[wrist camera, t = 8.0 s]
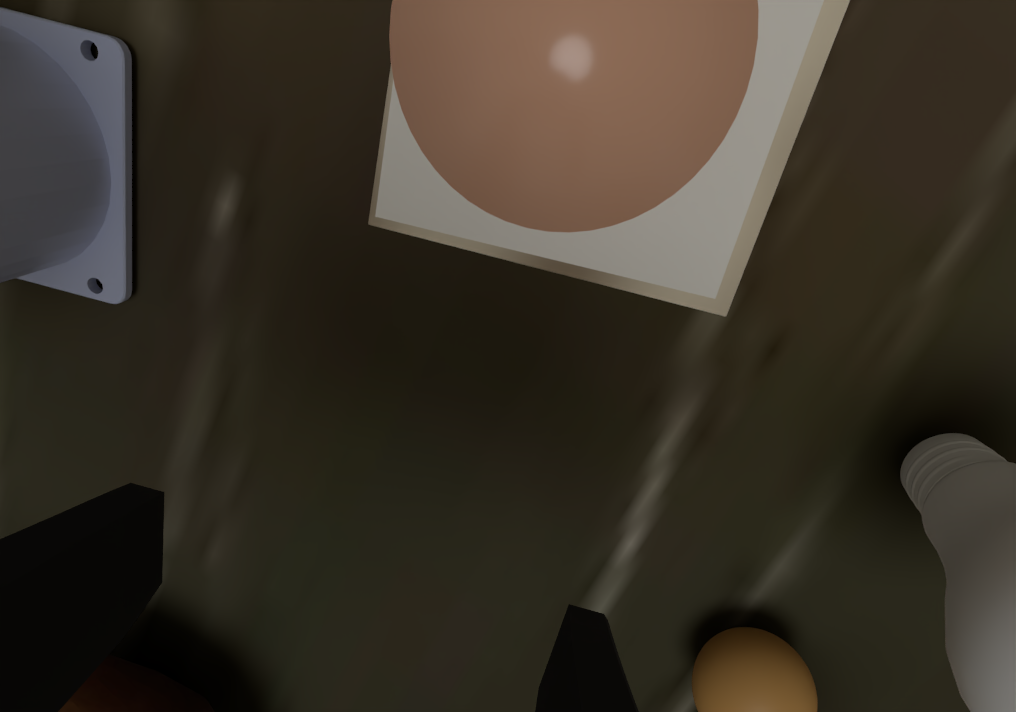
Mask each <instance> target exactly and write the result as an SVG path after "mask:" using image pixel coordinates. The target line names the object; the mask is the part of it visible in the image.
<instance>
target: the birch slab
mask: <svg viewBox="0 0 1016 712" xmlns="http://www.w3.org/2000/svg"><path fill="white" fill-rule="evenodd" d="M849 1H850V0H824V2H823V5H822V7H821V10H820V13H819V16H818V18H817V21H816V24H815V26H814V29H813V32H812V35H811V37H810V40H809V43H808V46H807V48H806V51H805V54H804V57H803V59H802V62H801V65H800V68H799V70H798V73H797V76H796V79H795V81H794V84H793V87H792V90H791V92H790V95H789V98H788V101H787V103H786V106H785V109H784V112H783V114H782V117H781V120H780V123H779V125H778V128H777V131H776V134H775V136H774V139H773V142H772V145H771V147H770V150H769V153H768V156H767V158H766V161H765V164H764V167H763V169H762V172H761V175H760V178H759V180H758V183H757V186H756V189H755V191H754V194H753V197H752V199H751V202H750V205H749V208H748V210H747V213H746V216H745V219H744V221H743V224H742V227H741V230H740V232H739V235H738V238H737V241H736V243H735V246H734V249H733V252H732V254H731V257H730V260H729V263H728V265H727V268H726V271H725V274H724V276H723V279H722V282H721V285H720V287H719V290H718V293H717V296H716V298H715V299H713V298H709V297H705V296H701V295H697V294H693V293H688V292H684V291H680V290H676V289H672V288H668V287H664V286H660V285H655V284H651V283H647V282H643V281H639V280H635V279H631V278H627V277H622V276H618V275H614V274H610V273H606V272H602V271H598V270H593V269H589V268H585V267H581V266H577V265H573V264H569V263H565V262H560V261H556V260H552V259H548V258H544V257H540V256H536V255H532V254H527V253H523V252H519V251H515V250H511V249H507V248H503V247H498V246H494V245H490V244H486V243H482V242H478V241H474V240H470V239H465V238H461V237H457V236H453V235H449V234H445V233H441V232H436V231H432V230H428V229H424V228H420V227H416V226H412V225H408V224H403V223H399V222H395V221H391V220H387V219H383V218H379V217H375V214H376V206H377V199H378V191H379V184H380V176H381V169H382V161H383V154H384V146H385V139H386V131H387V123H388V116H389V108H390V101H391V93H392V86H393V73H392V66H391V68H390V75H389V82H388V89H387V96H386V103H385V110H384V117H383V124H382V131H381V138H380V145H379V152H378V159H377V166H376V173H375V180H374V187H373V194H372V201H371V208H370V215H369V222H368V225H372V226H376V227H380V228H384V229H388V230H392V231H395V232H399V233H403V234H407V235H411V236H415V237H419V238H423V239H427V240H430V241H434V242H438V243H442V244H446V245H450V246H454V247H458V248H461V249H465V250H469V251H473V252H477V253H481V254H485V255H489V256H492V257H496V258H500V259H504V260H508V261H512V262H516V263H520V264H523V265H527V266H531V267H535V268H539V269H543V270H547V271H551V272H554V273H558V274H562V275H566V276H570V277H574V278H578V279H582V280H585V281H589V282H593V283H597V284H601V285H605V286H609V287H613V288H616V289H620V290H624V291H628V292H632V293H636V294H640V295H644V296H647V297H651V298H655V299H659V300H663V301H667V302H671V303H675V304H679V305H682V306H686V307H690V308H694V309H698V310H702V311H706V312H710V313H713V314H717V315H721V316H725V317H726V315H727V313H728V310H729V308H730V305H731V303H732V300H733V298H734V295H735V292H736V290H737V287H738V285H739V282H740V280H741V277H742V275H743V272H744V269H745V267H746V264H747V262H748V259H749V257H750V254H751V252H752V249H753V246H754V244H755V241H756V239H757V236H758V234H759V231H760V229H761V226H762V223H763V221H764V218H765V216H766V213H767V211H768V208H769V206H770V203H771V200H772V198H773V195H774V193H775V190H776V188H777V185H778V183H779V180H780V177H781V175H782V172H783V170H784V167H785V165H786V162H787V160H788V157H789V154H790V152H791V149H792V147H793V144H794V142H795V139H796V137H797V134H798V131H799V129H800V126H801V124H802V121H803V119H804V116H805V114H806V111H807V108H808V106H809V103H810V101H811V98H812V96H813V93H814V91H815V88H816V85H817V83H818V80H819V78H820V75H821V73H822V70H823V68H824V65H825V62H826V60H827V57H828V55H829V52H830V50H831V47H832V45H833V42H834V40H835V37H836V34H837V32H838V29H839V27H840V24H841V22H842V19H843V17H844V14H845V11H846V9H847V6H848V4H849Z"/></svg>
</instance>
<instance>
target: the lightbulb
mask: <svg viewBox="0 0 1016 712" xmlns="http://www.w3.org/2000/svg"><path fill="white" fill-rule="evenodd" d="M900 479H901V482H902V486H903V487H904V489H905V490H906V492H907V494H908V496H909V497H910V499H911V500H912V501H913V503H914V505H915V506H916V508H917V509H918V510H919V512H920V513H921V515H922V523H923V526H924V530H925V533H926V535H927V536H928V538H929V539H930V541H931V543H932V544H933V546H934V547H935V549H936V550H937V552H938V554H939V557H940V559H941V561H942V564H943V566H944V569H945V575H946V580H947V584H946V593H945V644H946V652H947V655H948V659H949V662H950V665H951V668H952V671H953V674H954V677H955V680H956V683H957V686H958V689H959V692H960V696H961V697H962V699H963V700H964V702H965V704H966V705H967V707H968V708H969V710H970V712H1016V464H1015V463H1012V462H1007V461H1006V459H1005V458H1003V457H1002V456H1000V455H998V454H997V453H996V452H995V451H994V450H992V449H991V448H989V447H988V446H986V445H984V444H983V443H981V442H980V441H978V440H977V439H975V438H974V437H971V436H968V435H965V434H959V433H947V434H940V435H936V436H933V437H930V438H928V439H926V440H923V441H922V442H920V443H919V444H917V445H916V446H915V447H914V448H913V449H912V450H911V451H910V452H909V453H908V455H907V456H906V457H905V459H904V461H903V463H902V466H901V471H900Z"/></svg>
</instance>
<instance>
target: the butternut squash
mask: <svg viewBox="0 0 1016 712" xmlns="http://www.w3.org/2000/svg"><path fill="white" fill-rule="evenodd" d="M58 712H215V711H214V710H213V708H212V707H211V705H210V704H209V702H208V701H207V699H206V698H204V697H203V696H201V695H200V694H198V693H196V692H195V691H193V690H191V689H189V688H187V687H185V686H184V685H182V684H180V683H178V682H176V681H174V680H173V679H171V678H169V677H167V676H165V675H164V674H162V673H160V672H158V671H156V670H153V669H150V668H147V667H144V666H141V665H138V664H135V663H133V662H130V661H127V660H124V659H121V658H119V657H116V656H113V655H110V654H109V655H108V656H107V657H106V658H105V659H104V661H103V662H102V663H101V664H100V665H99V666H98V667H97V669H96V670H95V671H94V672H93V673H92V674H91V675H90V677H89V678H88V679H87V680H86V681H85V682H84V683H83V684H82V686H81V687H80V688H79V689H78V690H77V691H76V692H75V693H74V695H73V696H72V697H71V698H70V699H69V700H68V701H67V702H66V704H65V705H64V706H63V707H62V708H61V709H60V710H59V711H58Z"/></svg>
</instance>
